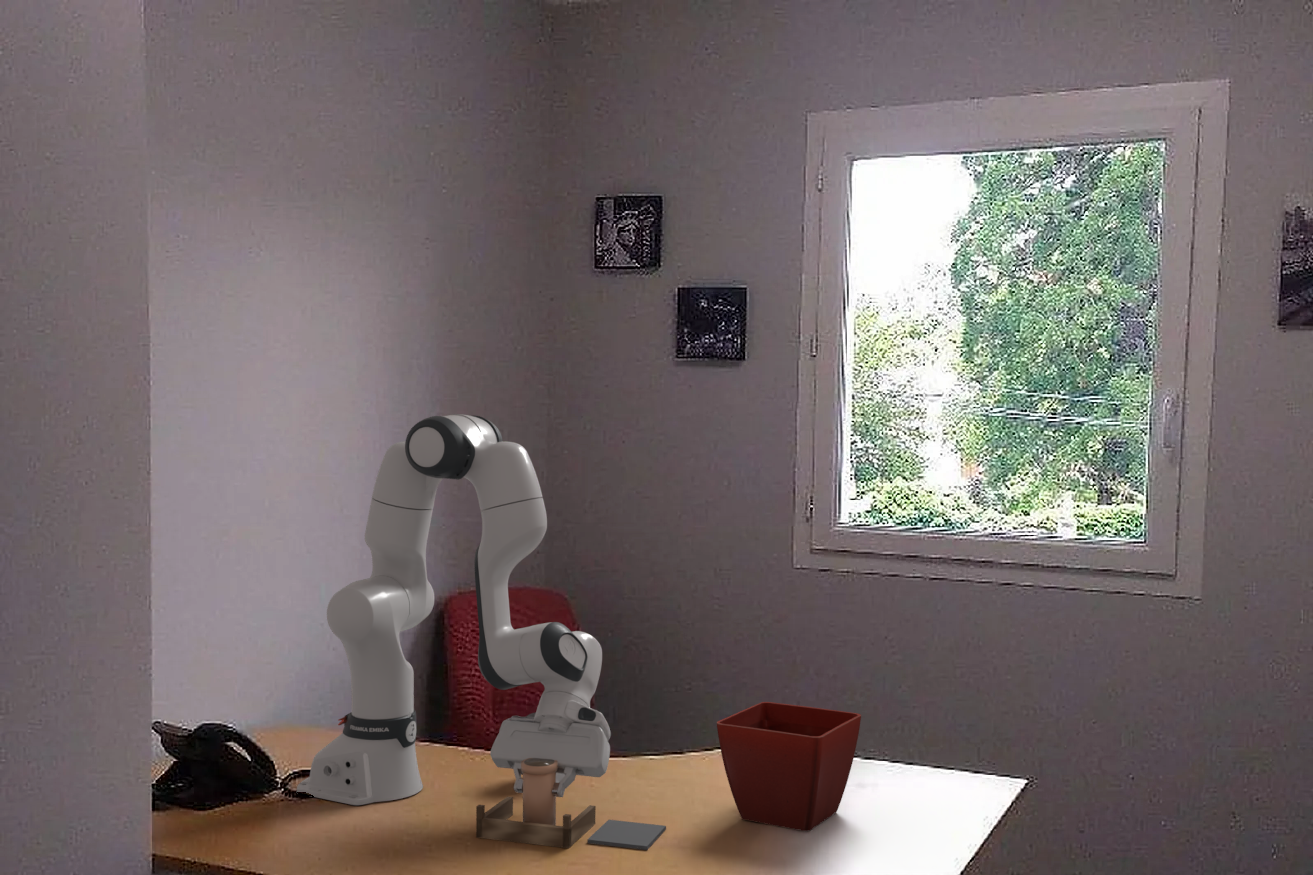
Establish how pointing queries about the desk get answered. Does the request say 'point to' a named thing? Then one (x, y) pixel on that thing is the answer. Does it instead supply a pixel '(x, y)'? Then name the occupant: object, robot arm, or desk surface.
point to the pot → (539, 790)
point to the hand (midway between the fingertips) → (537, 793)
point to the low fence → (531, 826)
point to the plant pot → (788, 762)
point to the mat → (627, 834)
